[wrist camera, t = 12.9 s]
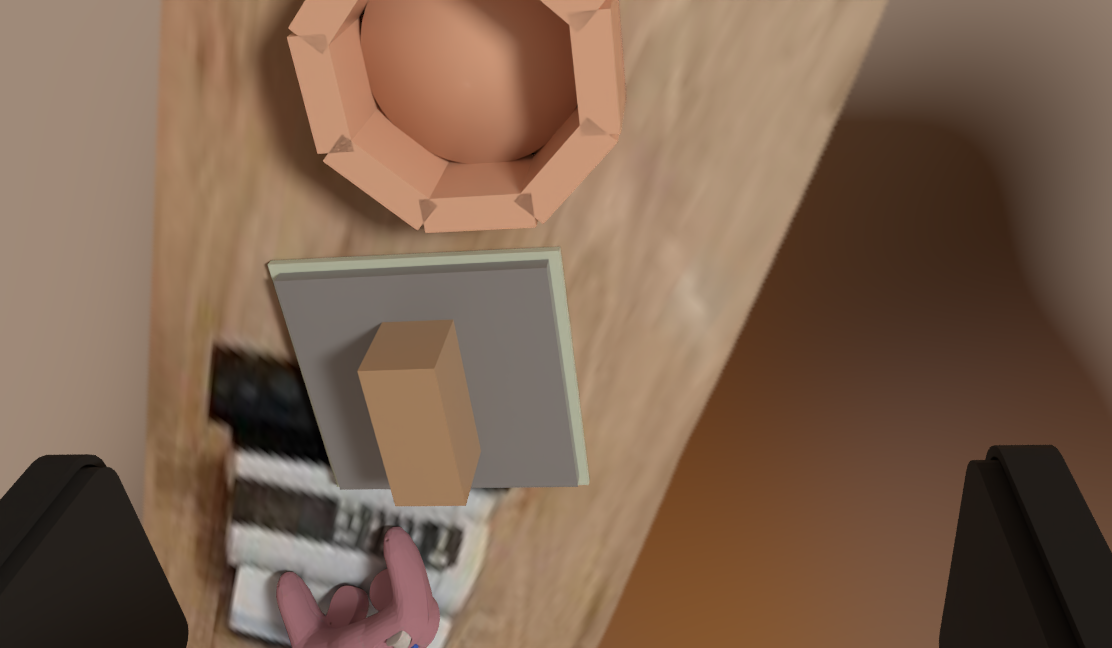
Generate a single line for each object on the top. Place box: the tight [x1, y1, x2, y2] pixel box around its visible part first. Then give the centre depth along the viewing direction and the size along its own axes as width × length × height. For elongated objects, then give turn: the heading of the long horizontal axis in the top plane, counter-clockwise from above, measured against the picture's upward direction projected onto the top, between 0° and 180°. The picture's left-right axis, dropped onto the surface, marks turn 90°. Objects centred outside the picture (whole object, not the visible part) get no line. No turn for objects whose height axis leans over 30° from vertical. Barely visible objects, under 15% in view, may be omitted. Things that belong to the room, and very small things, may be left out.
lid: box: [274, 259, 579, 506], centre depth 45 cm, size 13×13×5 cm
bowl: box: [287, 0, 626, 233], centre depth 37 cm, size 12×12×4 cm
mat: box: [268, 247, 589, 487], centre depth 47 cm, size 14×14×1 cm
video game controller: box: [276, 527, 440, 648], centre depth 54 cm, size 10×5×7 cm, turn 123°
